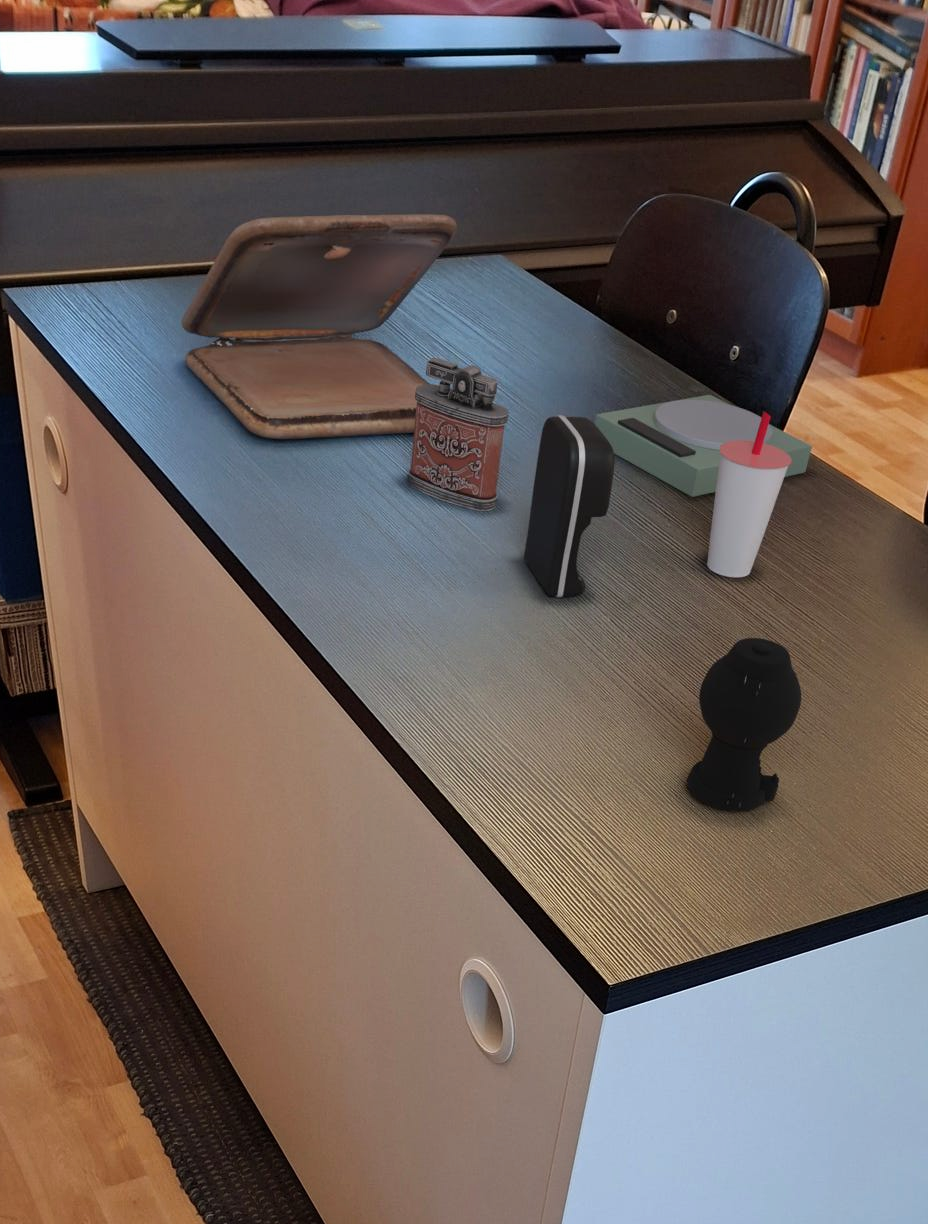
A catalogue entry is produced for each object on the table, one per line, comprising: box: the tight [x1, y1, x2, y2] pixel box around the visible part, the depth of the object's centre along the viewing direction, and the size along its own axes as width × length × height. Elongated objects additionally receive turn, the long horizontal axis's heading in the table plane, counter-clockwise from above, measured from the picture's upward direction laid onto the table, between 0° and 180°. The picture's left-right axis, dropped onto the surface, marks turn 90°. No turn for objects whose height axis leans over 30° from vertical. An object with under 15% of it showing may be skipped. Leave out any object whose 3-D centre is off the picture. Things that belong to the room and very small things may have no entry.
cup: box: [706, 410, 792, 578], centre depth 119 cm, size 5×5×12 cm
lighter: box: [406, 356, 510, 512], centre depth 125 cm, size 8×3×10 cm, turn 58°
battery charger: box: [523, 414, 616, 598], centre depth 115 cm, size 7×4×11 cm, turn 15°
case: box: [181, 213, 458, 440], centre depth 136 cm, size 20×21×16 cm
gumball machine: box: [686, 627, 802, 819], centre depth 94 cm, size 7×6×10 cm
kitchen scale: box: [594, 394, 813, 498], centre depth 139 cm, size 14×13×3 cm
